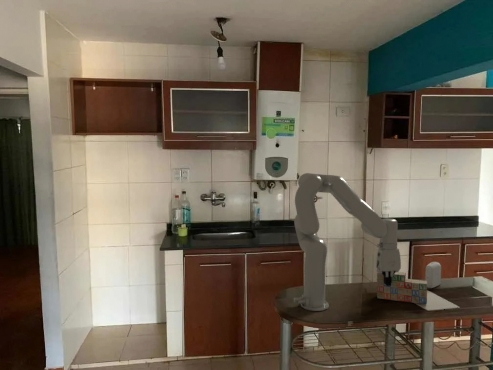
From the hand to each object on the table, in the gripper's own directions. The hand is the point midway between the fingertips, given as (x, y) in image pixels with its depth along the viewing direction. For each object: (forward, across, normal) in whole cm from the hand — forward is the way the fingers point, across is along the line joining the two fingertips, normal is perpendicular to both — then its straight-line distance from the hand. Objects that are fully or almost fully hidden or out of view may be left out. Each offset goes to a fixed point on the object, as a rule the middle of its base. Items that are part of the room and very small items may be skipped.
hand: (387, 284), depth 173 cm
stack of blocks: (+8, +7, 0) cm, 11 cm away
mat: (+8, +19, 0) cm, 21 cm away
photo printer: (+9, +35, +15) cm, 39 cm away
